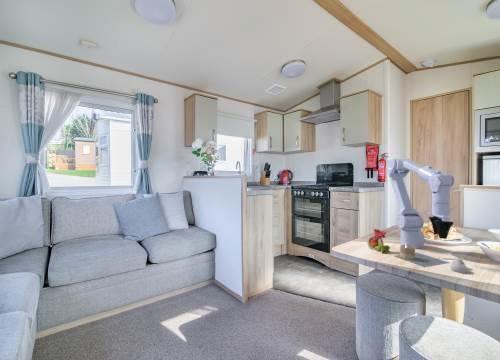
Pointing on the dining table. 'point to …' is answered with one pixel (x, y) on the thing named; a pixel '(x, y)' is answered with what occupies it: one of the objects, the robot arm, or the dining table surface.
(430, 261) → the lacing board
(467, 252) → the dining table surface
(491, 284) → the dining table surface
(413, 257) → the brown wooden block
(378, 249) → the bird rattle
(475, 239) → the dining table surface
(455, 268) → the pale two-lobed sculpture
